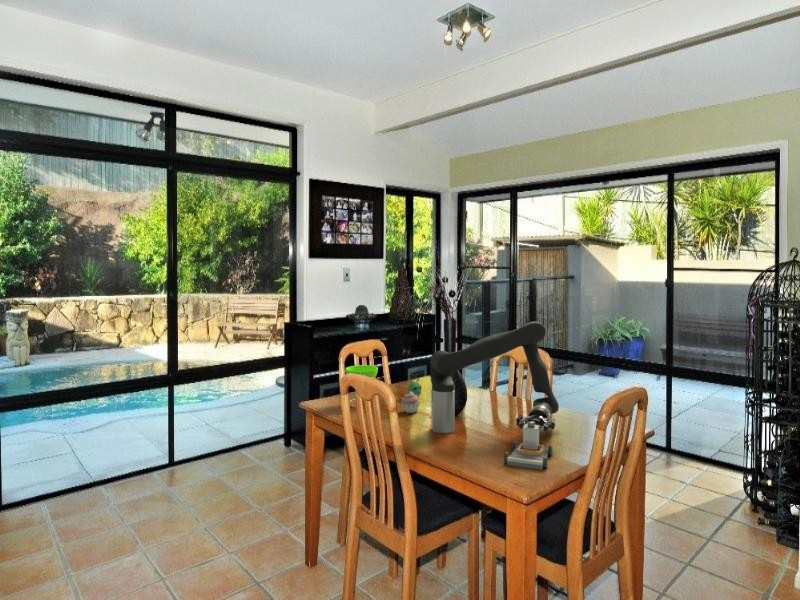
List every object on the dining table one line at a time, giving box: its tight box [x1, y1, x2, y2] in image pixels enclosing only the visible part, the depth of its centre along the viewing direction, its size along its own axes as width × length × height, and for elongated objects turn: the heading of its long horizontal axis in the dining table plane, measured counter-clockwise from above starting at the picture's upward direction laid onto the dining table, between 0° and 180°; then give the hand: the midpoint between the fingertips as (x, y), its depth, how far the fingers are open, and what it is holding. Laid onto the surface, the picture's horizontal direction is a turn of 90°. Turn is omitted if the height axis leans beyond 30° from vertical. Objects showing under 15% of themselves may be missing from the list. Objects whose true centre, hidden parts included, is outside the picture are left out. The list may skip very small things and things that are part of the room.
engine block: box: [522, 421, 540, 451], centre depth 201 cm, size 5×5×10 cm
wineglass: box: [345, 364, 379, 402], centre depth 274 cm, size 16×16×18 cm
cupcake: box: [400, 391, 421, 414], centre depth 259 cm, size 9×9×10 cm
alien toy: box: [407, 378, 422, 398], centre depth 285 cm, size 7×8×10 cm
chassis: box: [503, 440, 554, 471], centre depth 197 cm, size 18×14×4 cm
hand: (532, 427), depth 205 cm, fingers open, 8 cm apart
